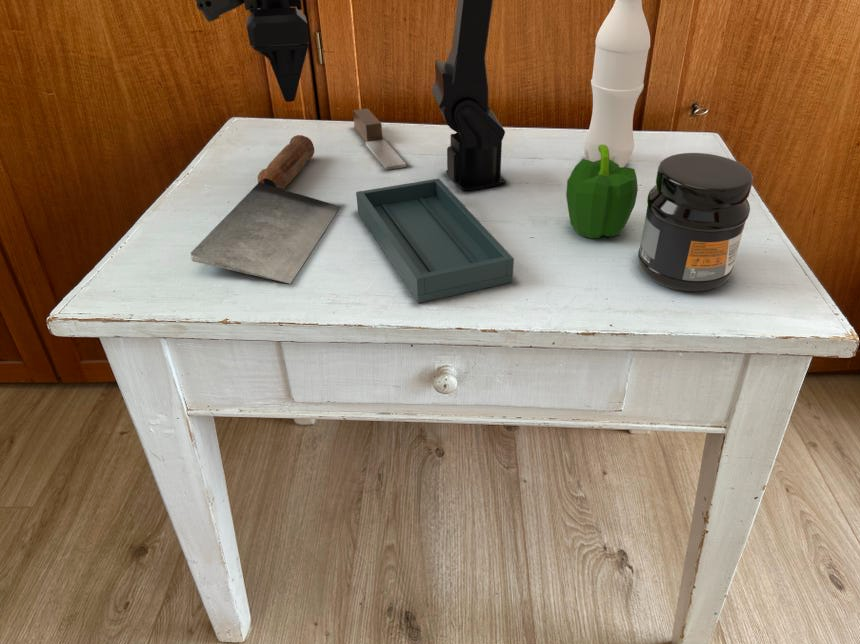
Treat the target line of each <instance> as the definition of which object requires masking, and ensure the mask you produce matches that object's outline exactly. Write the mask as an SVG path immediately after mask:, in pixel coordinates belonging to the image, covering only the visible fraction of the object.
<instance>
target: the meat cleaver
mask: <svg viewBox="0 0 860 644" xmlns="http://www.w3.org/2000/svg"><path fill="white" fill-rule="evenodd" d="M314 155H315V146H314V143H313V141H312V140H311V138H309V137H308V136H305V135H303V134H302V135H300V134H297V135H293V136H292V138H290V140H289V143H288V144H287V145H285V146H284V147H283V148H282V149H281V150H280V152H279V153H277V155H275V156H274V158H273V159H272V160H271V161H270V162H269V164H268V165H267V167H266V168H264V169H261V170H260V172H258V175H257V184H256V185H255V186H254V187H253V188H252V189H251V190H250V191H249V192H248V193H247V194H246V195H244V197H243V198H242V199H241V200H240V201H239V202H238V203H237V204H236V205H235V206H234V208H233V209H231V211H229V213H228V214H227V215H225V217H224V218H223V219H222V220H221V221H220V222H219V223H218V224H217V225H216V226H215V227H214V228H213V229H212V230H211V231H210V232H209V233H208V234H207V235H206V236H205V237H204V239H203V240H202V241H200V242H199V244H197V246H195V248H193V250H191V252H190V260H191V262H192V263H198V264H201V265H207V266H211V267H215V268H219V269H224V270H229V271H233V272H238V273H242V274H246V275H251V276H255V277H260V278H264V279H268V280H272V281H276V282H281V283H285V284H289V285H291V284H292V282H293V281H294V280H295V278H296V276H297V275H298V273H299V272H300V270H301V268H302V267H303V265H304V264H305V262H306V260H307V259H308V257H309V256H310V255H311V253H312V252H313V250H314V248H315V247H316V245H317V244H318V242H319V241H320V239H321V238H322V236H323V234H324V233H325V231H326V230H327V228H328V227H329V225H330V223H331V222H332V220H333V219H334V217H335V216H336V215H337V213H338V211H339V210H340V208H341V206H340V205H338V204H334V203H331V202H327V201H324V200H321V199H317V198H313V197H311V196H306V195H304V194H300V193H298V192H294V191H291V190H286V188H287V186H288V185H289V184H290V183H291V182H292V181H293V180H294V178H295V177H296V176H297V175H298V173H299V172H300V171H301V170H302V169H303V167H304V166H305V165H306V164H307V161H308V160H310V159H312V158H313V157H314Z"/></svg>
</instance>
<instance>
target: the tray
mask: <svg viewBox="0 0 860 644" xmlns="http://www.w3.org/2000/svg"><path fill="white" fill-rule="evenodd" d="M355 195H356V205H357V214H358V216H359V218H360V219H361V220H362V222H363V223H364V225H365V226H366V228H367V229H368V231H369V232H370V234H371V235H372V237H373V238H374V240H375V241H376V242H377V245H378V246H379V248H380V249H381V250H382V252H383V253H384V254H385V257H386V258H387V259H388V260H389V262H390V263H391V265H392V266H393V268H394V269H395V271H396V272H397V274H398V276H399V277H400V279H401V281H403V283H404V285H405V286H406V288H407V289H408V291H409V293H410V294H411V296H413V298H414V299H415V301H416V302H417V304H421V303H426V302H430V301H435V300H439V299H443V298H448V297H453V296H457V295H462V294H467V293H471V292H475V291H479V290H483V289H488V288H494V287H497V286H501V285H507V284H511V283H513V278H514V277H513V276H514V262H515V259H514V257H513V256H512V255H511V254H510V252H508V250H506V248H504V247H503V245H502V244H501V243H500V242H499V241H498V240H497V239H496V238H495V237H494V236H493V234H492V233H490V232H489V230H488V229H487V228H486V227H485V226H484V225H483V224H482V223H481V222H480V221H479V219H477V217H476V216H474V214H472V212H471V211H470V210H469V209H468V207H466V206H465V205H464V204H463V202H461V200H460V199H459V198H458V197H457V196H456V195H455V194H454V193H453V192H452V191H451V190H450V189H449V187H447V185H445V183H444V182H443V181H442V180H441V179H440V178H439V177H438V178H433V179H426V180H421V181H414V182H409V183H408V182H407V183H403V184H397V185H390V186H383V187H379V188H378V187H377V188H371V189H365V190H360V191H356V192H355Z"/></svg>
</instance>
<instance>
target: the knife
mask: <svg viewBox="0 0 860 644" xmlns="http://www.w3.org/2000/svg"><path fill="white" fill-rule="evenodd" d="M352 113H353V125H354V130H355V131H356V132H357V134H358V135H359V136H360V137H361V139H362V140H363V141H364V142H365V146H366V147H367V149H368V150H369V151H370V152H371V153H372V155H374V157H375V158H376V159H377V161H378V162H379V163H380V164H381V166H382V167H383V169H385V170H386V171H390V170H395V169H402V168H407V163H406V162H405V160H403V159H402V157H401V156H400V155H399V154H398V153H397V151H395V150H394V148H393V147H392V146H391V145H390V144H389V143H388V141H387V140H385V139H383V129H382V128H383V127H382V122H381V121H380V119H378V118H377V117H376V116H375V115H374V114H373V112H372V111H371V110H370V109H369V108H360V109H353V110H352Z"/></svg>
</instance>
